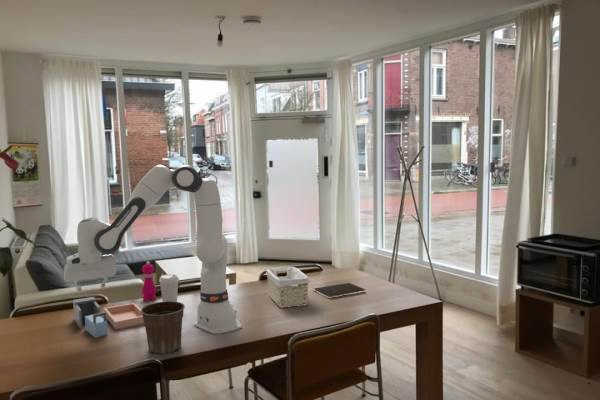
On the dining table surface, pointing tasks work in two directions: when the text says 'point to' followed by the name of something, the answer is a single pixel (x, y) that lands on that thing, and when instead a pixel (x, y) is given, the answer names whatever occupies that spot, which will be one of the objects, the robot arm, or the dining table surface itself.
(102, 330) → the small pale blue carton
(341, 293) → the hardcover book
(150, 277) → the pepper mill
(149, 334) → the plant pot
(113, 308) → the tray
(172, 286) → the coffee cup
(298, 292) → the storage basket
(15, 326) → the dining table surface
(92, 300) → the bay
